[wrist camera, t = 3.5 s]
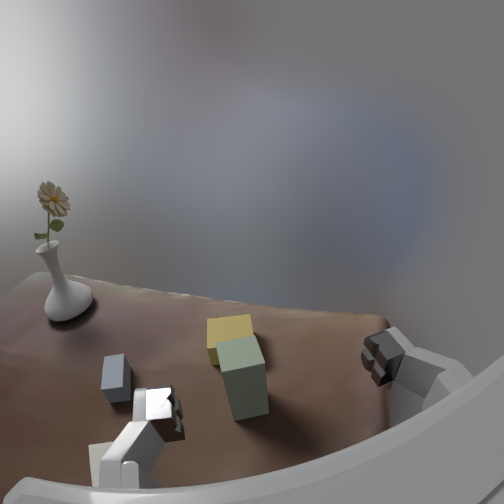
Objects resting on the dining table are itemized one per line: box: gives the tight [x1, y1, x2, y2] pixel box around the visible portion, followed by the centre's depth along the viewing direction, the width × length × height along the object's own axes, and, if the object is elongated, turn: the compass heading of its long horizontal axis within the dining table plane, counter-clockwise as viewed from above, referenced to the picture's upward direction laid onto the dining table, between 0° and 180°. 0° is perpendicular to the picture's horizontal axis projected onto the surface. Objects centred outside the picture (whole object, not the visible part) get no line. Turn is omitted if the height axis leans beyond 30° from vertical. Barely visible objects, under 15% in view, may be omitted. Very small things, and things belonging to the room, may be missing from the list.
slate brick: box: [101, 354, 131, 403], centre depth 33 cm, size 6×3×3 cm, turn 17°
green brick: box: [216, 335, 269, 421], centre depth 28 cm, size 4×4×9 cm
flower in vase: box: [34, 181, 93, 321], centre depth 44 cm, size 13×11×25 cm
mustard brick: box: [207, 314, 253, 365], centre depth 39 cm, size 6×6×4 cm
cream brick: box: [89, 442, 113, 487], centre depth 20 cm, size 6×3×3 cm, turn 22°
